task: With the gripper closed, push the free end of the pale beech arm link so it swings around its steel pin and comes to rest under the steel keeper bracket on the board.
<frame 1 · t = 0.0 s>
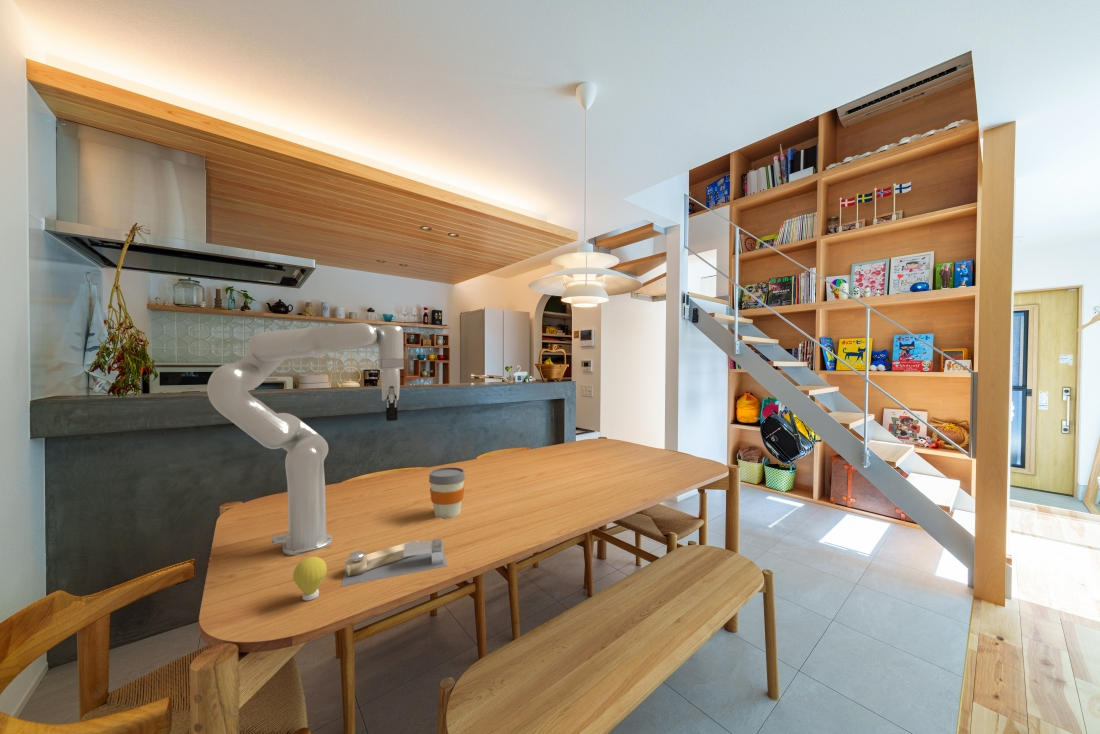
hand: (391, 418, 128), 37 cm above the table, tool pointing down, fingers open, 9 cm apart
arm link: (384, 556, 108), point 2 cm above the table, hinge at 18.0°
base board: (396, 566, 108), on the table
reusable coffee cup: (447, 513, 145), on the table
pin cap: (356, 557, 104), point 4 cm above the table
keeper bracket: (423, 553, 109), on the base board, point 3 cm above the table
light bulb: (310, 602, 93), on the table
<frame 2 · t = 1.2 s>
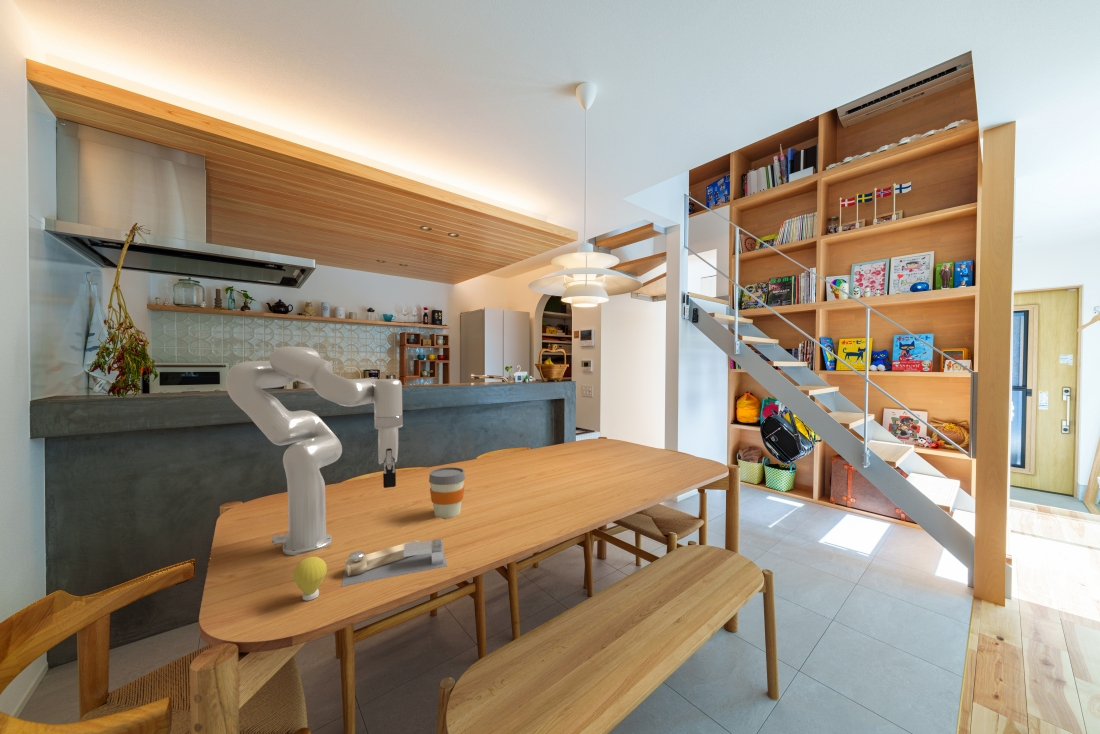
hand: (389, 482, 116), 20 cm above the table, tool pointing down, fingers open, 7 cm apart
nothing on the table moved.
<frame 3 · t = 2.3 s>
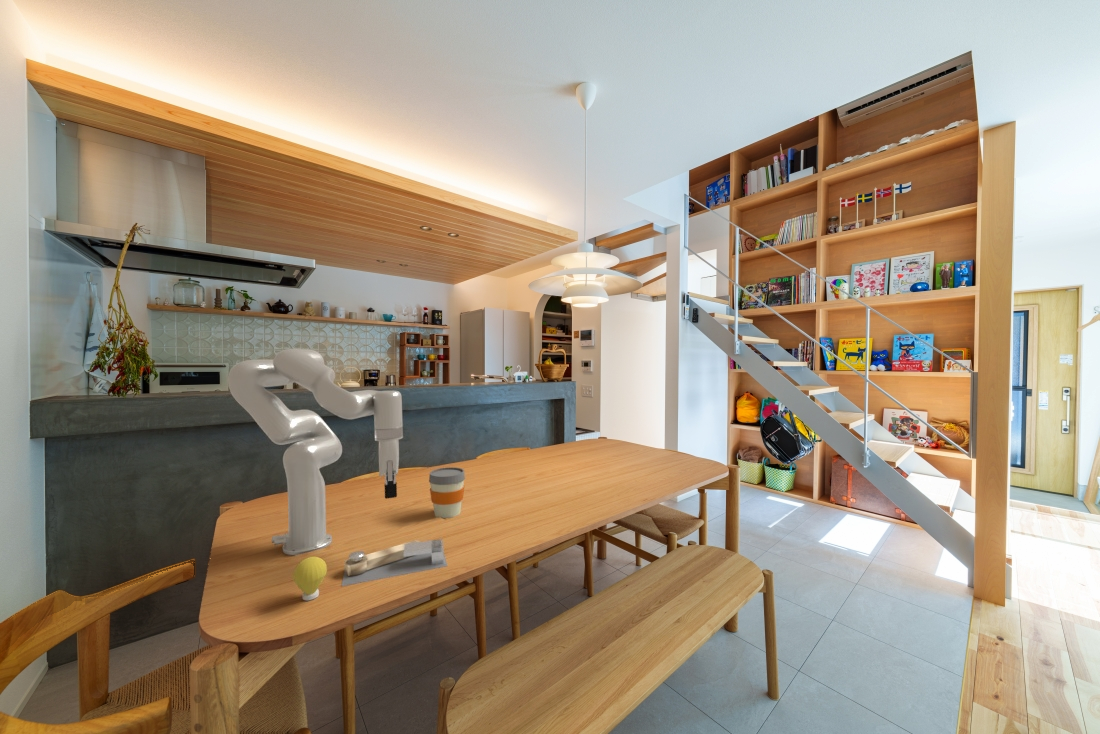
hand: (391, 496, 116), 16 cm above the table, tool pointing down, fingers closed
nothing on the table moved.
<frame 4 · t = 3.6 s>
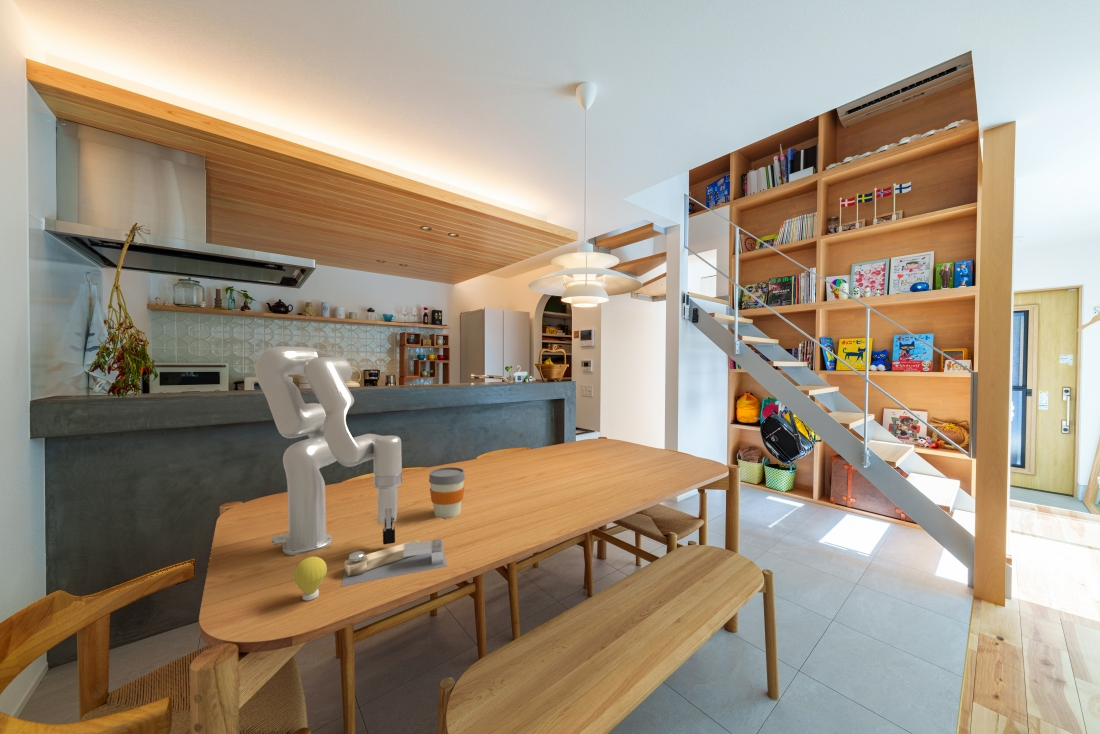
hand: (389, 542, 116), 3 cm above the table, tool pointing down, fingers closed
nothing on the table moved.
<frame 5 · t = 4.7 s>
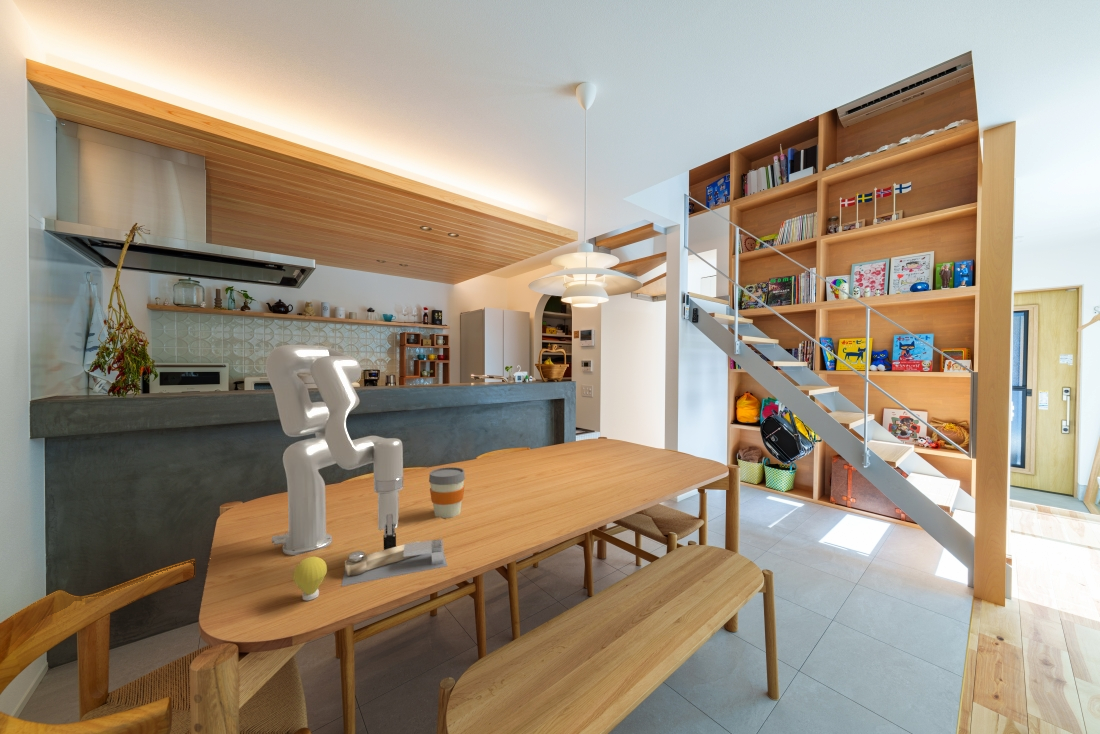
hand: (389, 549, 112), 3 cm above the table, tool pointing down, fingers closed
arm link: (385, 557, 108), point 3 cm above the table, hinge at 15.2°, touching gripper
everything else where it was.
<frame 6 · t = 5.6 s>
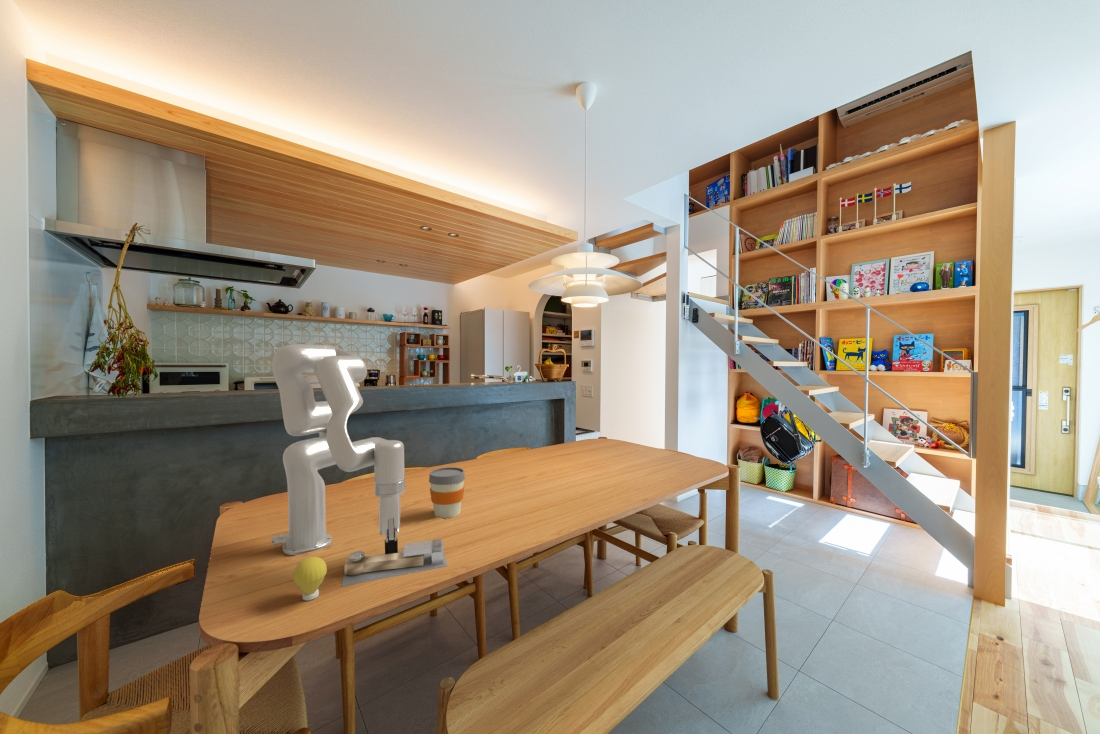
hand: (391, 554, 109), 3 cm above the table, tool pointing down, fingers closed
arm link: (385, 561, 106), point 3 cm above the table, hinge at -7.9°, touching gripper
everything else where it was.
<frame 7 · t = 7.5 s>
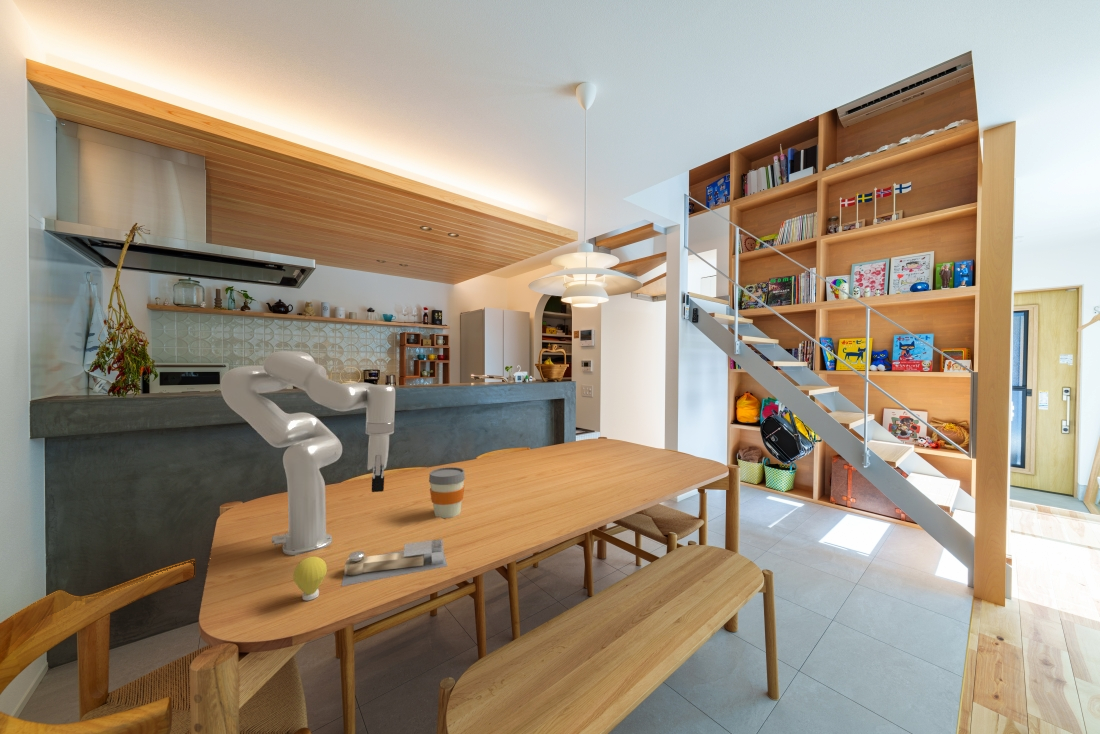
hand: (377, 490, 117), 18 cm above the table, tool pointing down, fingers closed
arm link: (385, 561, 106), point 3 cm above the table, hinge at -8.1°
everything else where it was.
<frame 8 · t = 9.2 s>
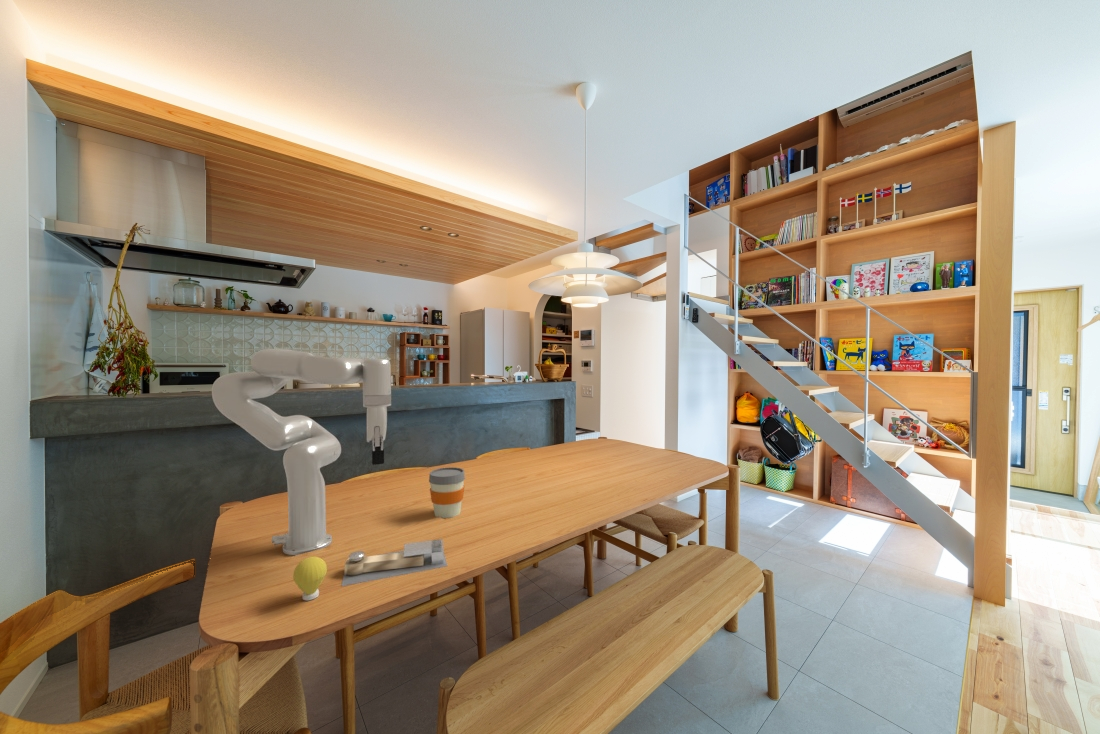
hand: (378, 463, 118), 25 cm above the table, tool pointing down, fingers closed
nothing on the table moved.
at the end: arm link at -8° (first picture: +18°); light bulb moved 0.2 cm from its start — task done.
